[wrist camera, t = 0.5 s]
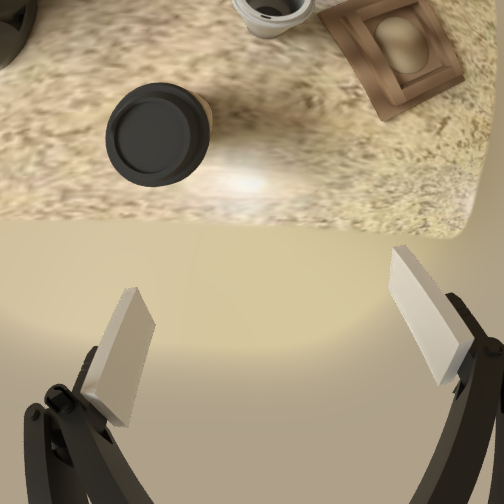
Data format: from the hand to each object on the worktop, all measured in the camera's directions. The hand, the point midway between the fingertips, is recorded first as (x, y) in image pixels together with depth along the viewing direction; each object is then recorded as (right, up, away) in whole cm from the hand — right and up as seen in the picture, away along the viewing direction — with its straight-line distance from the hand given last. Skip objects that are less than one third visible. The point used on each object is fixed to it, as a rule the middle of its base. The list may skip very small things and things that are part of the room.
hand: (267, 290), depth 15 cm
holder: (+18, +28, +13) cm, 36 cm away
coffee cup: (-9, +18, +19) cm, 27 cm away
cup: (+1, +29, +12) cm, 31 cm away
